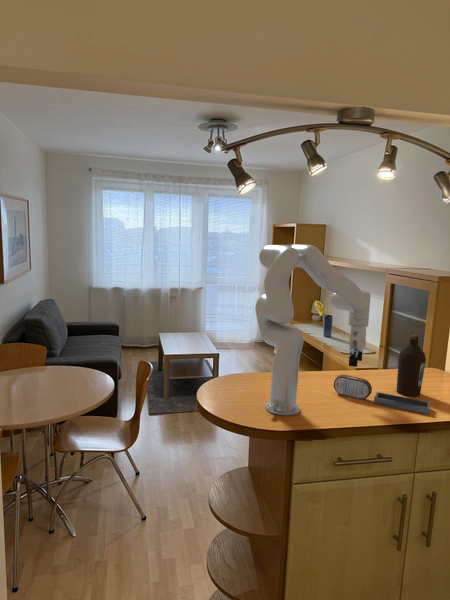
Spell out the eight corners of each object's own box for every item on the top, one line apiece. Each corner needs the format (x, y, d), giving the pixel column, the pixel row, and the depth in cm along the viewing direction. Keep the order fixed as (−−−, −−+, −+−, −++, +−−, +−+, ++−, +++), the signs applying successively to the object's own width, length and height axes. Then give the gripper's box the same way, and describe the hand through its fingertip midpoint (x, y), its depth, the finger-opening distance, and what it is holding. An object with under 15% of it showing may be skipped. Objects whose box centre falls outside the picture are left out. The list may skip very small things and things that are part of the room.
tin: (371, 399, 172) (373, 379, 171) (369, 402, 170) (371, 381, 168) (334, 391, 180) (335, 372, 179) (331, 393, 177) (333, 374, 176)
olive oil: (392, 393, 180) (399, 335, 177) (396, 387, 189) (402, 331, 186) (420, 399, 175) (427, 340, 172) (423, 392, 184) (429, 335, 181)
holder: (428, 415, 159) (429, 408, 159) (373, 403, 168) (374, 397, 168) (429, 408, 166) (430, 402, 165) (376, 397, 175) (377, 391, 174)
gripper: (364, 326, 161) (360, 370, 164) (371, 319, 176) (368, 359, 179) (344, 324, 165) (341, 367, 167) (353, 317, 180) (350, 356, 182)
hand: (355, 363), depth 173 cm, fingers open, 9 cm apart
